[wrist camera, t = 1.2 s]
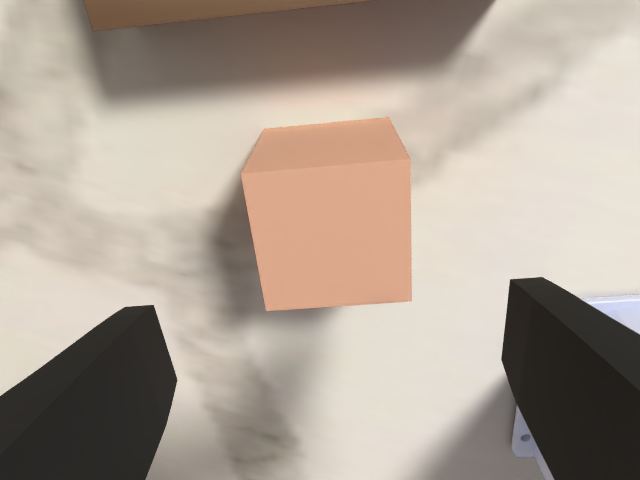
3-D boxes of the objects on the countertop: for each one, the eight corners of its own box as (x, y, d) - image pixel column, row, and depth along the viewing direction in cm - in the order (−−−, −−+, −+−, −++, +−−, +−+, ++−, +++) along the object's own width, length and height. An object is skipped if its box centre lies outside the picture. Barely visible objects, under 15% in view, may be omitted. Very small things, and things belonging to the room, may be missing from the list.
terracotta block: (391, 229, 18) (411, 301, 14) (281, 238, 19) (266, 311, 14) (388, 116, 16) (410, 158, 12) (264, 128, 17) (240, 174, 12)
